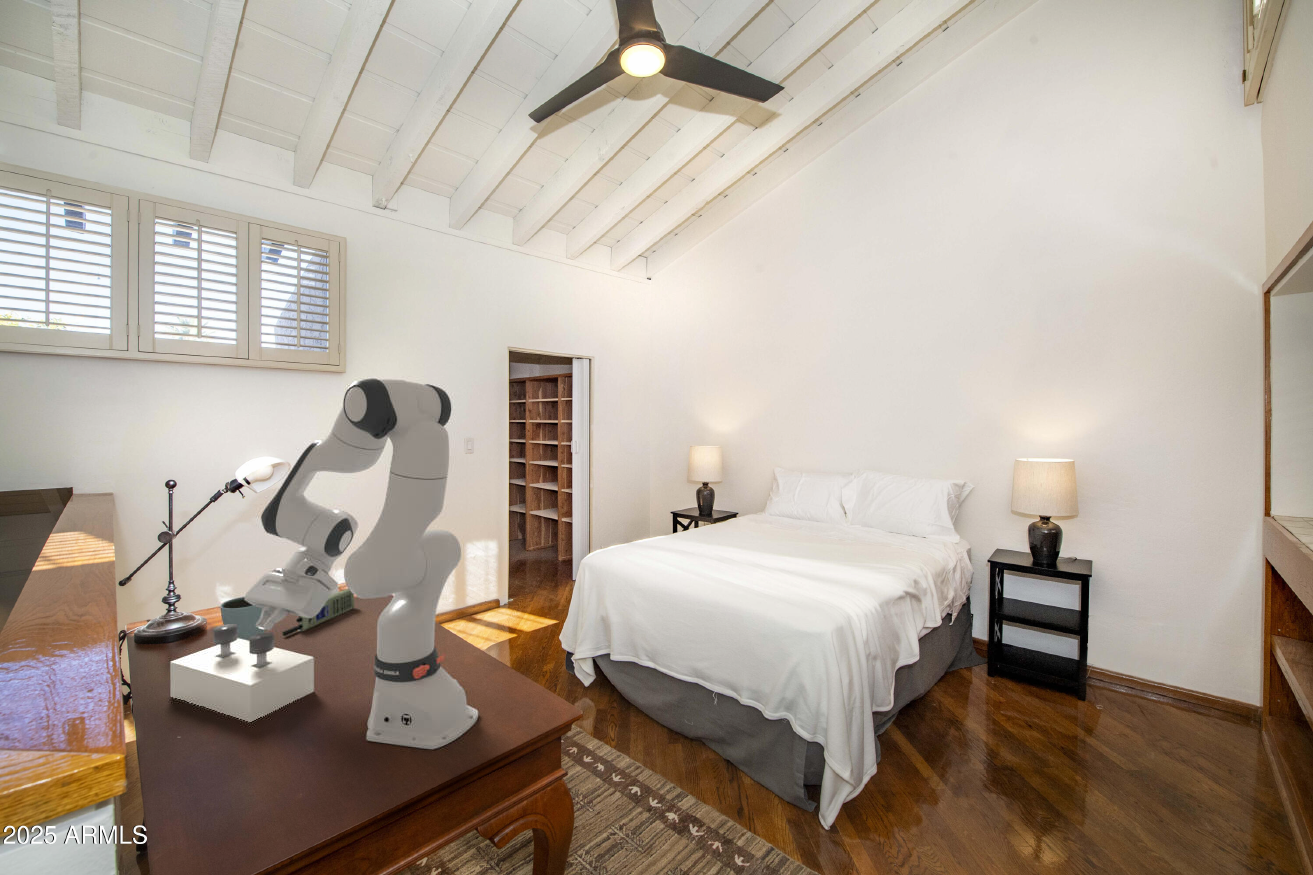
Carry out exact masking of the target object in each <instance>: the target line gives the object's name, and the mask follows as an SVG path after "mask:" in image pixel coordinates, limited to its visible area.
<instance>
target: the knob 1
mask: <svg viewBox="0 0 1313 875" xmlns="http://www.w3.org/2000/svg"><path fill="white" fill-rule="evenodd" d="M237 639H238V625H236V624H226V625H224V624H222V625H218V626H216V627H214V628H213V629H212V643H213V644H214V645H215V646H216V645H221V658H226V657H228V656H231V642H234V641H236V640H237Z"/></svg>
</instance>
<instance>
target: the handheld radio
mask: <svg viewBox="0 0 1313 875" xmlns="http://www.w3.org/2000/svg"><path fill="white" fill-rule="evenodd" d="M353 609H355V595H354V594H353V593H352V592H351V591H350V590H349V588H346V589H344V590H341V591H339V592H338V593H336V594H333V595H331V596H330V597H329V599H328V600H327V602H326V603H325V605H324V606H323V607H322V609H321V610H320V612H319V613H318V614H317V615H315V616H314V617H312V618H307V617H302V616H298V618H296V623H298V625H297V626H294V627H291V628H289V629H287V630H284V631H283V632H282V636H283V637H286V636H288V635H291V634H293V633H295V632H304V631H307V630H309V629H311V628H314V627H315V626H318V625H320V624H322V623H324V622H327V621H329V620H331V619H333V618H336V617H337V616H340V615H342V614H344V613H346V612H348V611H351V610H353Z"/></svg>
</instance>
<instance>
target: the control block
mask: <svg viewBox="0 0 1313 875" xmlns="http://www.w3.org/2000/svg"><path fill="white" fill-rule="evenodd" d="M169 662H170V663H169V664H170V666H169V667H170V668H169V669H170V670H169V672H170V673H169V674H170V680H169V681H170V686H169V687H170V698H172V697H173V698H172V699H175V698H177V699H176V700H178V699H181V700H185V701H187V702H189V703H188V704H191V703H193V704H192V705H194V704H196V705H195V706H197V705H199V706H198V707H200V706H204V707H206V708H209V709H212V710H215V711H217V712H216V713H218V712H220V713H219V714H221V713H224V714H226V715H225V716H227V715H230V716H233V717H236V718H239V719H238V720H240V719H242V720H241V721H243V720H245V721H244V722H246V721H248V722H247V723H249V722H252V721H254V720H256V719H258V718H260V717H262V718H263V716H264V717H266V716H267V714H268V715H270V714H272V713H274V712H275V710H276V711H277V710H280V709H281V707H282V708H284V707H285V705H286V706H287V704H288V705H289V703H290V704H291V703H293V701H294V702H296V701H297V699H298V700H300V699H301V698H304V697H305V696H307V695H310V694H312V693H313V692H315V657H313V656H312V655H311V656H310V655H306V654H302V653H297V652H294V651H290V650H286V649H282V648H278V647H275V646H274V648H273V650H271V651H269V652H267V666H264V667H262V668H260V669H259V668H257V654H250V653H249V641H247V640H243V639H239V638H238V639H237V640H236V641H234V642H231V656H228V657H226V658H221V645H216V644H215V645H214V646H211V647H209V648H206V649H205V648H204V649H203V650H199V651H197V652H194V653H191V654H188V655H185V656H183V657H180V658H177V659H175V660H172V661H169ZM181 700H180V701H181ZM295 700H296V701H295ZM187 702H186V703H187ZM283 706H284V707H283ZM206 708H205V709H206ZM279 708H280V709H279ZM209 709H208V710H209ZM212 710H211V711H212ZM215 711H214V712H215ZM273 711H274V712H273ZM271 712H272V713H271ZM269 713H270V714H269ZM224 714H223V715H224ZM265 715H266V716H265ZM230 716H229V717H230ZM233 717H232V718H233ZM236 718H235V719H236ZM260 719H261V718H260ZM258 720H259V719H258ZM256 721H257V720H256ZM254 722H255V721H254ZM252 723H253V722H252Z"/></svg>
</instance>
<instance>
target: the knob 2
mask: <svg viewBox="0 0 1313 875" xmlns="http://www.w3.org/2000/svg"><path fill="white" fill-rule="evenodd" d="M274 642H275V634H274V633H273V632H265V633H260V634H256V635H253V636H251V637H250V638H249V653H250V654H257V668H259V669H260V668H262V667H264V666H267V652H269V651H271V650H273V648H274V647H275V643H274Z"/></svg>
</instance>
